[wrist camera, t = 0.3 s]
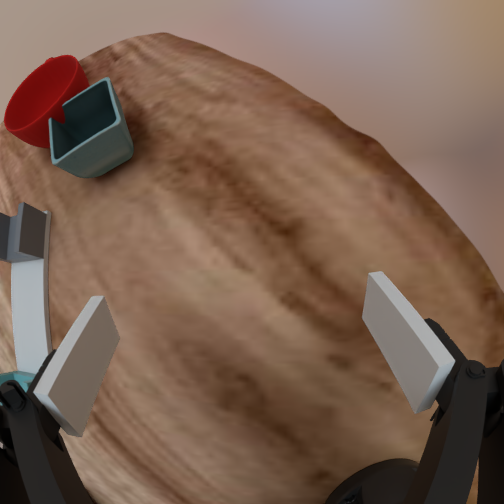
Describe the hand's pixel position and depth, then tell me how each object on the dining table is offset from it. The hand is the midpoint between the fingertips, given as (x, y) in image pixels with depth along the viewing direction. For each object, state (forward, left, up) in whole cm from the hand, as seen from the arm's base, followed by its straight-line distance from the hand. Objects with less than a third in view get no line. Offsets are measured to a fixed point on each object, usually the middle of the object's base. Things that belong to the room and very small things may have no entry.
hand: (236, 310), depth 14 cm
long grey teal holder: (0, +29, -16) cm, 33 cm away
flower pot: (+21, +16, -17) cm, 31 cm away
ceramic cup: (+30, +25, -17) cm, 42 cm away
